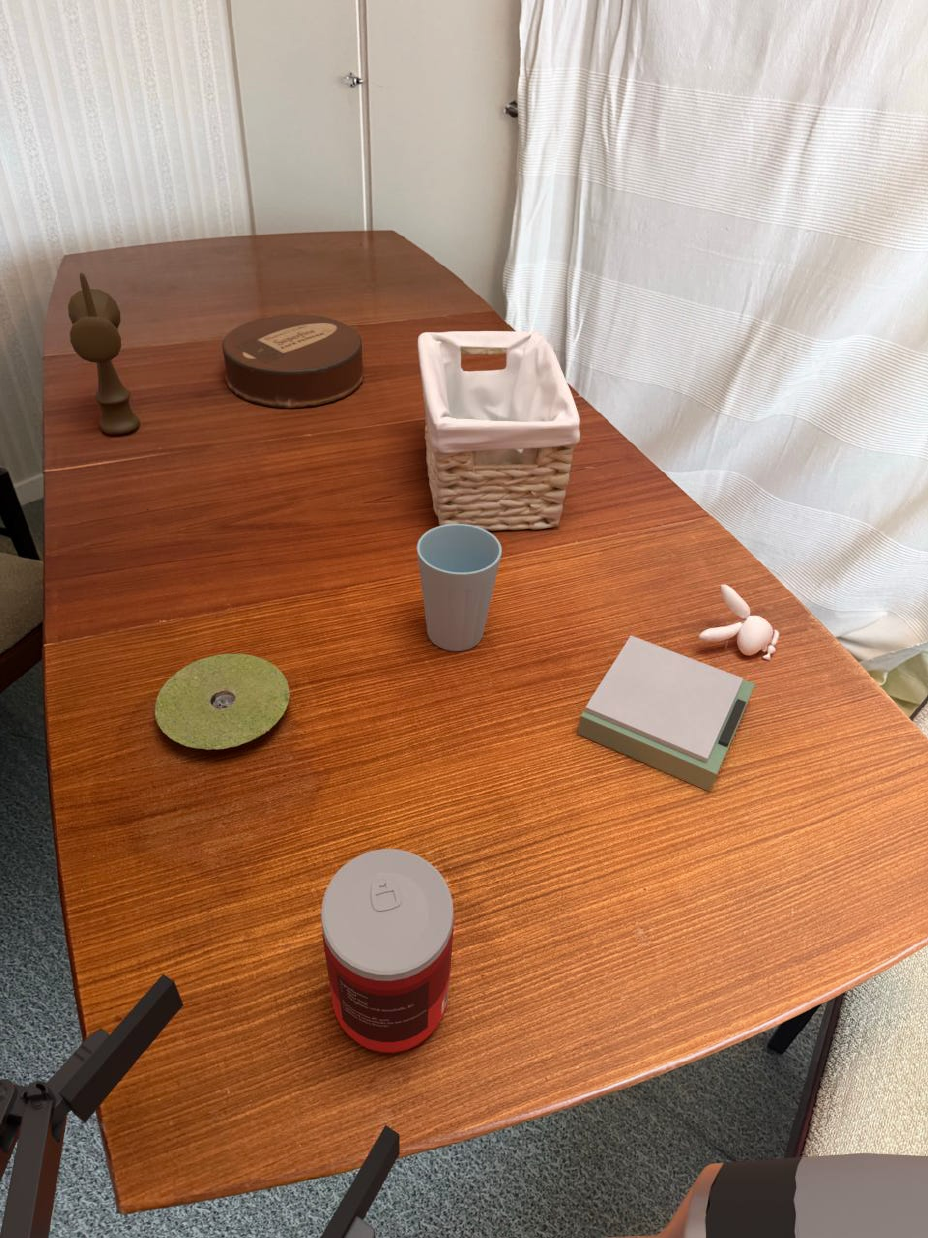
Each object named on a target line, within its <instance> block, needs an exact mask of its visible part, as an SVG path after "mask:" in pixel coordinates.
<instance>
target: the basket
mask: <svg viewBox="0 0 928 1238" xmlns="http://www.w3.org/2000/svg"><path fill="white" fill-rule="evenodd" d="M417 352H418V362H419V363H418V365H419V370H420V371H419V372H420V378H421V386H422V387H421V388H422V398H423V402H424V422H425V426H424V441H425V446H426V454H425V455H426V457H425V459H426V466H427V477H428V479H429V480H428V481H429V488H430V492H431V497H432V498H431V499H432V502H433V503H432V505H433V511H434V514H435V515H436V516H437V518H438V519H437V520H438V525H439V526H442V525H447V524H467V525H473V526H476V527H479V528H482V529H484V530H486V531H488V532H490V531H491V532H493V531H508V530H510V531H520V530H528V529H529V530H534V531H535V530H544V529H548V528H555V527H558V526H559V524H560V521H561V517H562V513H563V508H564V506H563V503H564V500H565V499H566V495H567V490H566V489H567V487H568V484H569V482H570V472H571V469H572V468H571V467H572V462H573V453H574V450H575V447H576V445H578V444H579V443H580V442H581V432H580V424H581V419H580V413H579V411H578V409H577V404H576V401H575V399H574V396H573V393H572V390H571V388H570V386H569V384H568V382H567V380H566V377H565V375H564V372H563V370H562V367H561V365H560V362H559V359H558V357H557V355H556V353H555V351H554V349H553V347H552V346H551V344H550V343H549V341H548V340H547V338H546V337H545V336H544V335H543V334H541V332H539V331H536V330H534V331H517V330H516V331H511V330H509V331H507V330H504V331H503V330H480V331H478V330H477V331H476V330H474V331H471V330H470V331H463V330H459V331H458V330H457V331H456V330H455V331H453V330H452V331H442V332H441V331H440V332H438V331H437V332H435V331H434V332H433V331H432V332H431V331H430V332H429V331H426V332H422V333H420V334H419V335H418V338H417ZM466 354H467V355H469V354H470V355H478V354H479V355H489V356H490V355H501V354H503V355H504V354H505V356H506V357H505V358H506V359H505V361H506V365H505V367H504V368H503V369H492V370H472V371H469V370H464V369H463V368H462V355H466Z"/></svg>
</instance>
